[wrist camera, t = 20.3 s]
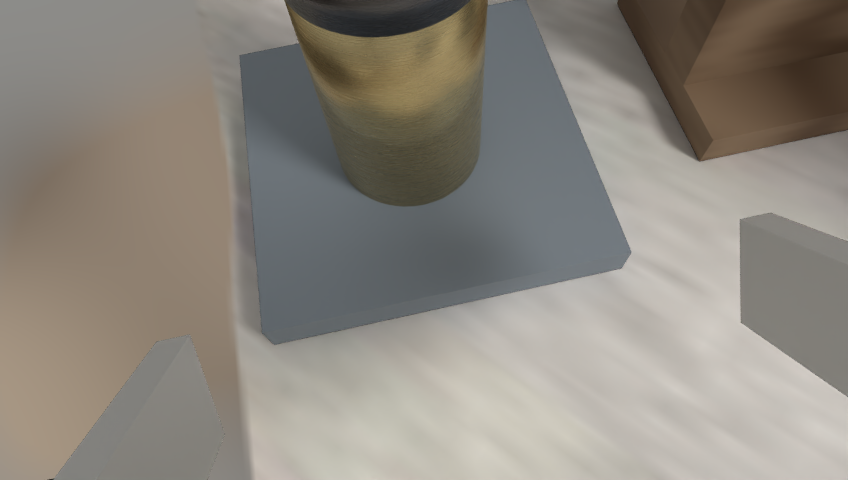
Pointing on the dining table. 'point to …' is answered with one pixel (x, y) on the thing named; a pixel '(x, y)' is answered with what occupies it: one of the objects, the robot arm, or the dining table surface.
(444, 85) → the cylinder
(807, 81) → the panel
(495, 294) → the slate pad
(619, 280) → the dining table surface
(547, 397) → the dining table surface
